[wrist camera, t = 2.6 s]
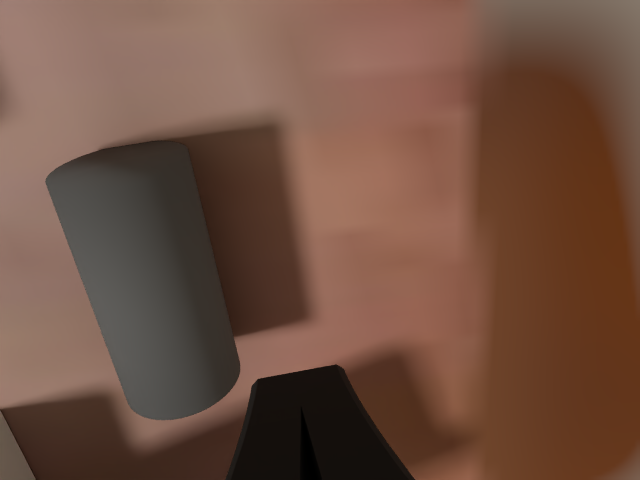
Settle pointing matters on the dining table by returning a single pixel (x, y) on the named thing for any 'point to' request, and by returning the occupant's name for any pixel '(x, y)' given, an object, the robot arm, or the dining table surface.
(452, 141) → the dining table surface
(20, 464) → the pale grey rectangular block
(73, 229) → the gray tin can
